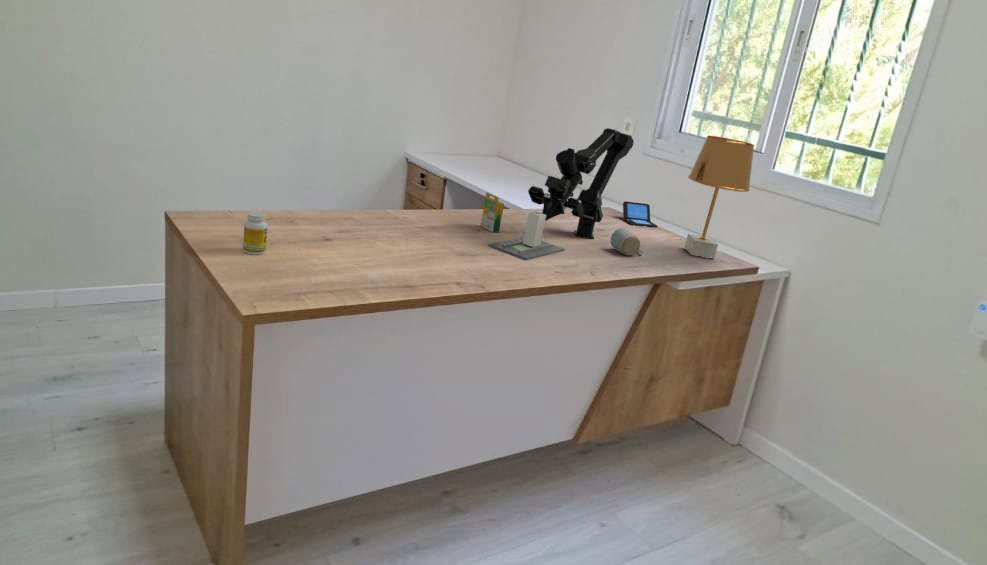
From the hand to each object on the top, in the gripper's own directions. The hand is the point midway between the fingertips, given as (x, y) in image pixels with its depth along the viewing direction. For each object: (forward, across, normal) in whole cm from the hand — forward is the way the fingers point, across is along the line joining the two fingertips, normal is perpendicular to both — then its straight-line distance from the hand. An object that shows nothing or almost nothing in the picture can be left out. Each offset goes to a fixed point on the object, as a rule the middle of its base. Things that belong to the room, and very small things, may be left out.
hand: (541, 221), depth 216 cm
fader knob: (+8, 0, +3) cm, 8 cm away
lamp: (-34, +33, +46) cm, 66 cm away
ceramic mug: (-13, +19, +25) cm, 34 cm away
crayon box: (+6, -19, +6) cm, 21 cm away
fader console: (+10, 0, +2) cm, 10 cm away
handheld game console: (-48, 0, +60) cm, 76 cm away
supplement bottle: (+65, -29, -52) cm, 88 cm away
